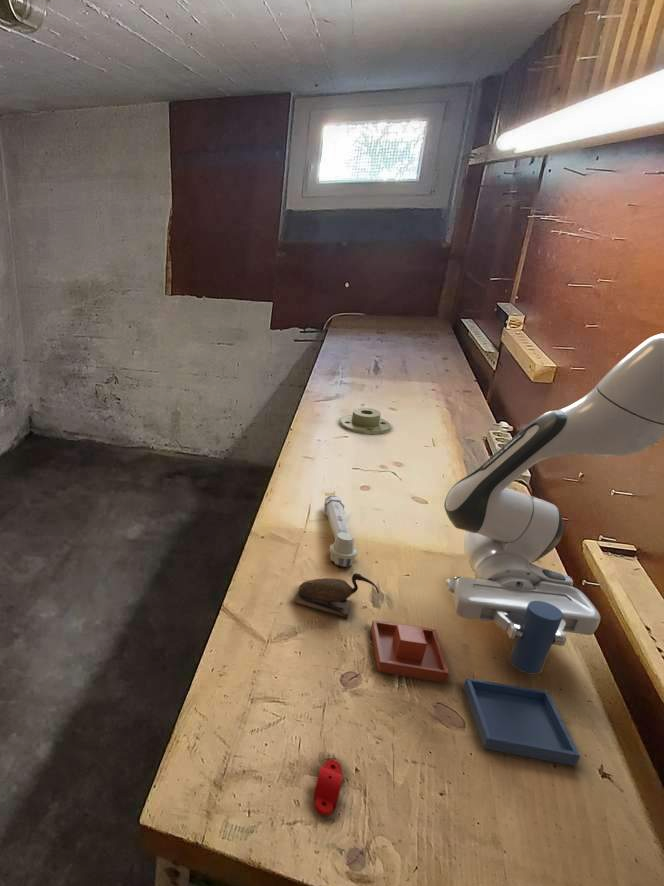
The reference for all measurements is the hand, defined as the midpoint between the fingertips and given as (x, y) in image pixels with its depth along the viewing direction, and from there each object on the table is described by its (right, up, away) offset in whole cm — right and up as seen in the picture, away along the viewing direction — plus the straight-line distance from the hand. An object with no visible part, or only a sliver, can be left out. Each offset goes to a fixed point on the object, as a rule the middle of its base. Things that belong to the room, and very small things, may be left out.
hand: (538, 639), depth 87 cm
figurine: (-24, 0, +20) cm, 31 cm away
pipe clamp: (-37, -16, -12) cm, 42 cm away
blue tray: (-6, -11, -4) cm, 14 cm away
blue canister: (0, -5, +3) cm, 6 cm away
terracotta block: (-16, -5, +8) cm, 19 cm away
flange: (+16, +40, +99) cm, 108 cm away
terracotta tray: (-16, -5, +9) cm, 19 cm away
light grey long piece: (-16, +10, +41) cm, 45 cm away
